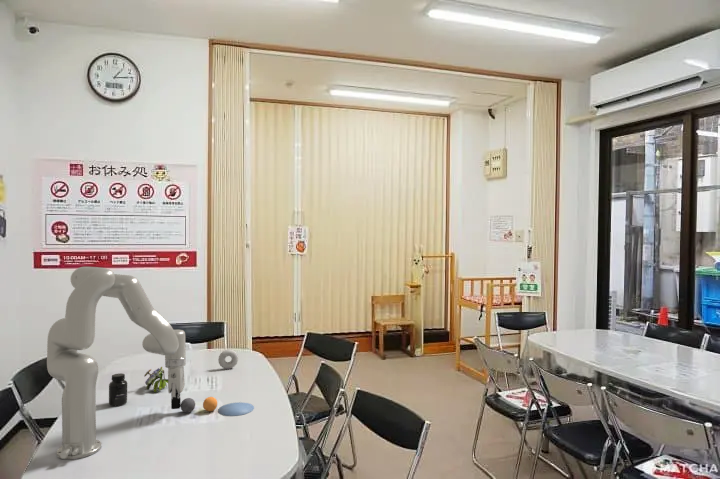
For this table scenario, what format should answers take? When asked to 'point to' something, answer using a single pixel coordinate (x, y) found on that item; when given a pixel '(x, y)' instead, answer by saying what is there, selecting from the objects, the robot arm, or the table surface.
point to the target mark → (236, 409)
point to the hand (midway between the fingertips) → (175, 408)
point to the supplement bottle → (118, 390)
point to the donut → (232, 363)
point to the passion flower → (161, 382)
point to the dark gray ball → (187, 405)
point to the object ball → (210, 404)
